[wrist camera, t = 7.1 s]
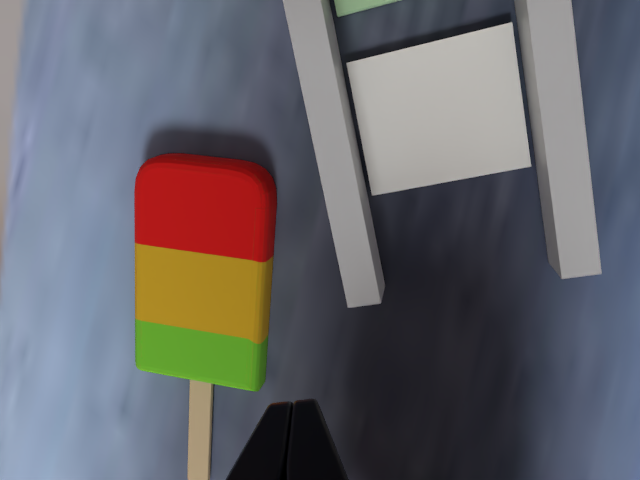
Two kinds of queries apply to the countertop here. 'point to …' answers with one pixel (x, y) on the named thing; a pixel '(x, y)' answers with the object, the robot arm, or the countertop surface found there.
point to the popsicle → (203, 279)
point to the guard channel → (447, 126)
